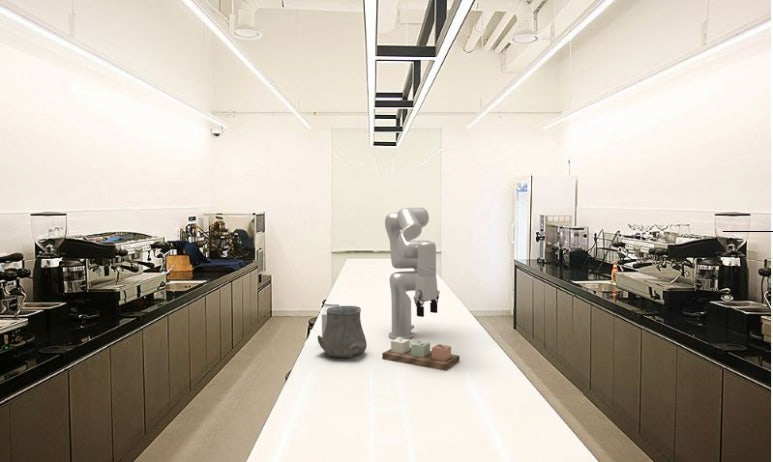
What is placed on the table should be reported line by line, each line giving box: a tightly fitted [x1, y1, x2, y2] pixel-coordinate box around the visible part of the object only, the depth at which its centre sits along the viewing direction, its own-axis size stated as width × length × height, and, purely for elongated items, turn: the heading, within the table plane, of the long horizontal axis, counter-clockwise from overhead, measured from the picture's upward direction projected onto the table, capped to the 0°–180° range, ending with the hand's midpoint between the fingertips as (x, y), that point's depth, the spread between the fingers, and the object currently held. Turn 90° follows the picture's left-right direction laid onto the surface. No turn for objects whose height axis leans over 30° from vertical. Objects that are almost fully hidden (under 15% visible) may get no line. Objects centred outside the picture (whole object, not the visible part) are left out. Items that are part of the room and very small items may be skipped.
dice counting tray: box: [381, 347, 461, 372], centre depth 208 cm, size 29×13×2 cm, turn 59°
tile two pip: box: [410, 340, 431, 358], centre depth 208 cm, size 6×6×5 cm
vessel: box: [317, 305, 368, 359], centre depth 215 cm, size 22×22×20 cm
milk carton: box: [321, 303, 340, 337], centre depth 230 cm, size 7×7×19 cm
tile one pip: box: [390, 338, 411, 354], centre depth 213 cm, size 6×6×5 cm
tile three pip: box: [431, 344, 452, 361], centre depth 203 cm, size 6×6×5 cm
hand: (427, 314), depth 205 cm, fingers open, 9 cm apart
